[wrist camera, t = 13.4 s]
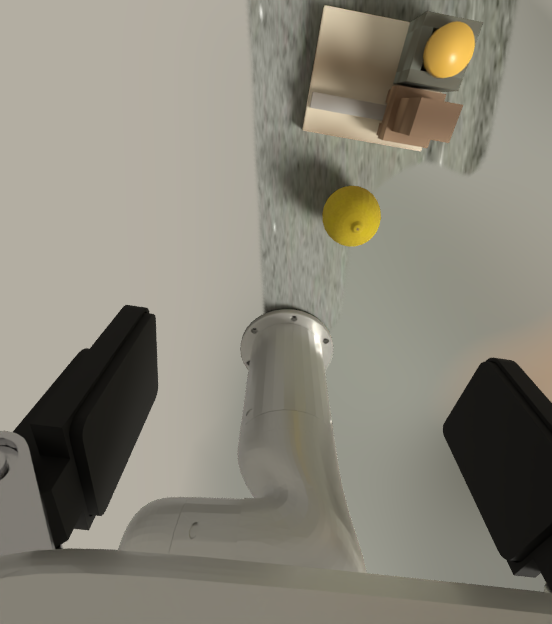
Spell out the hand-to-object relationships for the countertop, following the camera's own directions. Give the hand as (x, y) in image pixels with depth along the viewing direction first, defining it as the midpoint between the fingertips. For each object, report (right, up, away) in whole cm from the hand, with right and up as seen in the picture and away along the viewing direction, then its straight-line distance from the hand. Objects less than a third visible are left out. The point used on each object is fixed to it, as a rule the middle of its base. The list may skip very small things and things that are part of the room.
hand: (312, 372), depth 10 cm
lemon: (+6, +13, +27) cm, 31 cm away
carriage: (+10, +19, +21) cm, 31 cm away
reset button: (+12, +23, +19) cm, 32 cm away
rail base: (+8, +23, +21) cm, 32 cm away
